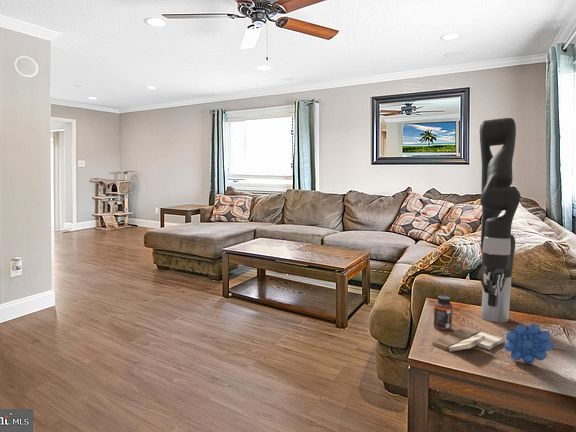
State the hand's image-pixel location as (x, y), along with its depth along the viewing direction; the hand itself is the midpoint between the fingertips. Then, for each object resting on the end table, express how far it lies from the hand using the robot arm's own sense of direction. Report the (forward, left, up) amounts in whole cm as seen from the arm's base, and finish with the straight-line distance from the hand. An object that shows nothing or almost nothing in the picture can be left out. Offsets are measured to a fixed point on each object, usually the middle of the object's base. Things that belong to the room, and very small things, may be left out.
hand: (492, 305), depth 114 cm
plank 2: (-2, -2, -13) cm, 14 cm away
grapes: (+1, +11, -14) cm, 18 cm away
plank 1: (+9, -3, -12) cm, 15 cm away
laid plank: (+3, -9, -14) cm, 17 cm away
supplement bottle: (-2, -17, -14) cm, 22 cm away
